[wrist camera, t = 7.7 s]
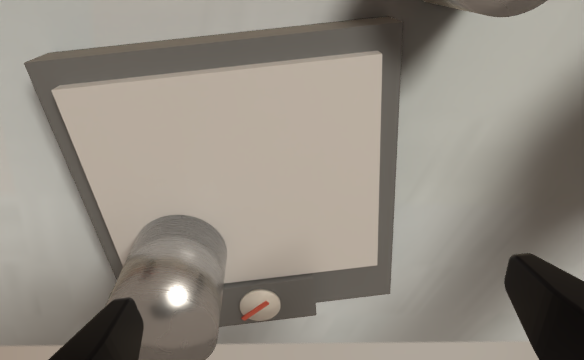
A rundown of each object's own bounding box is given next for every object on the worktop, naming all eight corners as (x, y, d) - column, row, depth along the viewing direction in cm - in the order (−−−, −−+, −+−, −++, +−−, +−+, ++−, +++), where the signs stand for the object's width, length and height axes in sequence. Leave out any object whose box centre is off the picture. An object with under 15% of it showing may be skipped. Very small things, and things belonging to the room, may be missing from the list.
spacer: (218, 209, 18) (204, 286, 14) (233, 279, 20) (226, 365, 16) (122, 220, 18) (78, 301, 14) (148, 289, 20) (118, 378, 16)
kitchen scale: (388, 16, 17) (414, 26, 14) (380, 270, 24) (396, 311, 21) (48, 52, 17) (4, 70, 14) (144, 298, 24) (129, 343, 21)
